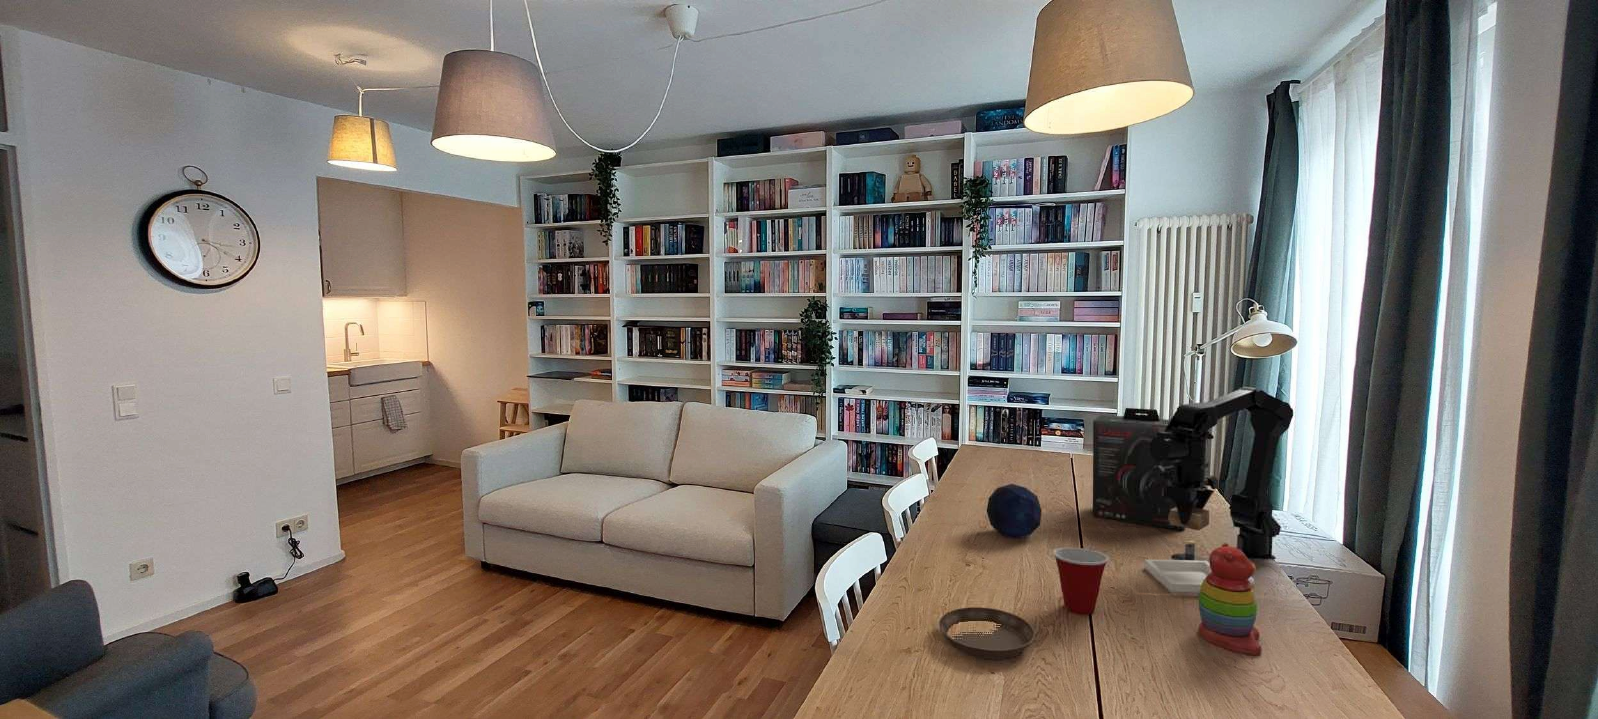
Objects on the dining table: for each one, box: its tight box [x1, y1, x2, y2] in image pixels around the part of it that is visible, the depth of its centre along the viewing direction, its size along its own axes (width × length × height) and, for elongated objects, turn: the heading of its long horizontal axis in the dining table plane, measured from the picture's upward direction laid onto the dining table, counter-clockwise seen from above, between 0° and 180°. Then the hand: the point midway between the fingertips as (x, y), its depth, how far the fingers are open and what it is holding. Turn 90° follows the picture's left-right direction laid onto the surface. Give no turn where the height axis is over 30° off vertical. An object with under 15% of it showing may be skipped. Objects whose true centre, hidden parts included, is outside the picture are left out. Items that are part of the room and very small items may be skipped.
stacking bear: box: [1197, 542, 1262, 656], centre depth 125 cm, size 11×10×18 cm
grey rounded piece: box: [1170, 540, 1209, 562], centre depth 163 cm, size 8×8×5 cm
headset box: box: [1092, 407, 1190, 531], centre depth 195 cm, size 25×12×33 cm, turn 54°
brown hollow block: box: [1168, 507, 1210, 532], centre depth 160 cm, size 8×6×4 cm
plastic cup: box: [1052, 547, 1110, 616], centre depth 139 cm, size 11×11×12 cm
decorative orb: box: [986, 483, 1043, 539], centre depth 183 cm, size 14×15×15 cm
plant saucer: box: [938, 606, 1036, 660], centre depth 127 cm, size 18×18×3 cm
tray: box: [1144, 559, 1212, 596], centre depth 151 cm, size 14×14×2 cm
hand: (1189, 521), depth 159 cm, fingers closed on brown hollow block, 6 cm apart
